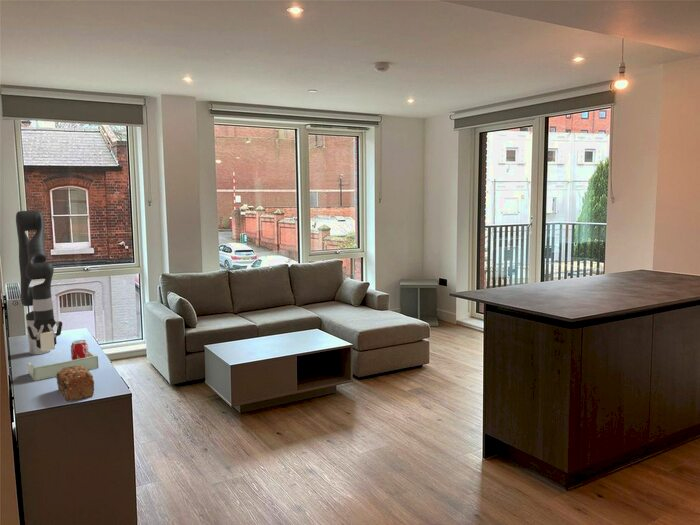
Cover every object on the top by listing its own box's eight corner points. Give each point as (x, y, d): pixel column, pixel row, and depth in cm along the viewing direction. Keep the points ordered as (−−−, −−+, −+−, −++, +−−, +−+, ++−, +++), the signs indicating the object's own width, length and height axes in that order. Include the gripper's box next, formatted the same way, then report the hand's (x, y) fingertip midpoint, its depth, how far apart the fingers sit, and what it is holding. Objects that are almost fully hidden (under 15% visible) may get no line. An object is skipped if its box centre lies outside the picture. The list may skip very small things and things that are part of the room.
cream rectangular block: (38, 348, 242) (37, 331, 241) (52, 346, 245) (50, 329, 245) (41, 351, 237) (40, 334, 237) (55, 349, 241) (53, 332, 240)
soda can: (82, 370, 247) (80, 344, 245) (68, 369, 248) (66, 343, 247) (93, 365, 254) (90, 339, 252) (79, 364, 255) (77, 339, 254)
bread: (95, 396, 214) (93, 371, 212) (65, 403, 207) (62, 377, 206) (85, 384, 228) (83, 360, 227) (56, 390, 222) (54, 365, 221)
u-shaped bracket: (28, 373, 243) (27, 361, 243) (90, 361, 260) (89, 350, 259) (34, 380, 234) (33, 368, 233) (98, 367, 250) (97, 355, 249)
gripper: (59, 305, 247) (62, 342, 249) (22, 309, 238) (26, 348, 240) (63, 307, 241) (66, 345, 243) (25, 312, 232) (29, 351, 234)
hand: (46, 346), depth 241 cm, fingers closed on cream rectangular block, 5 cm apart
